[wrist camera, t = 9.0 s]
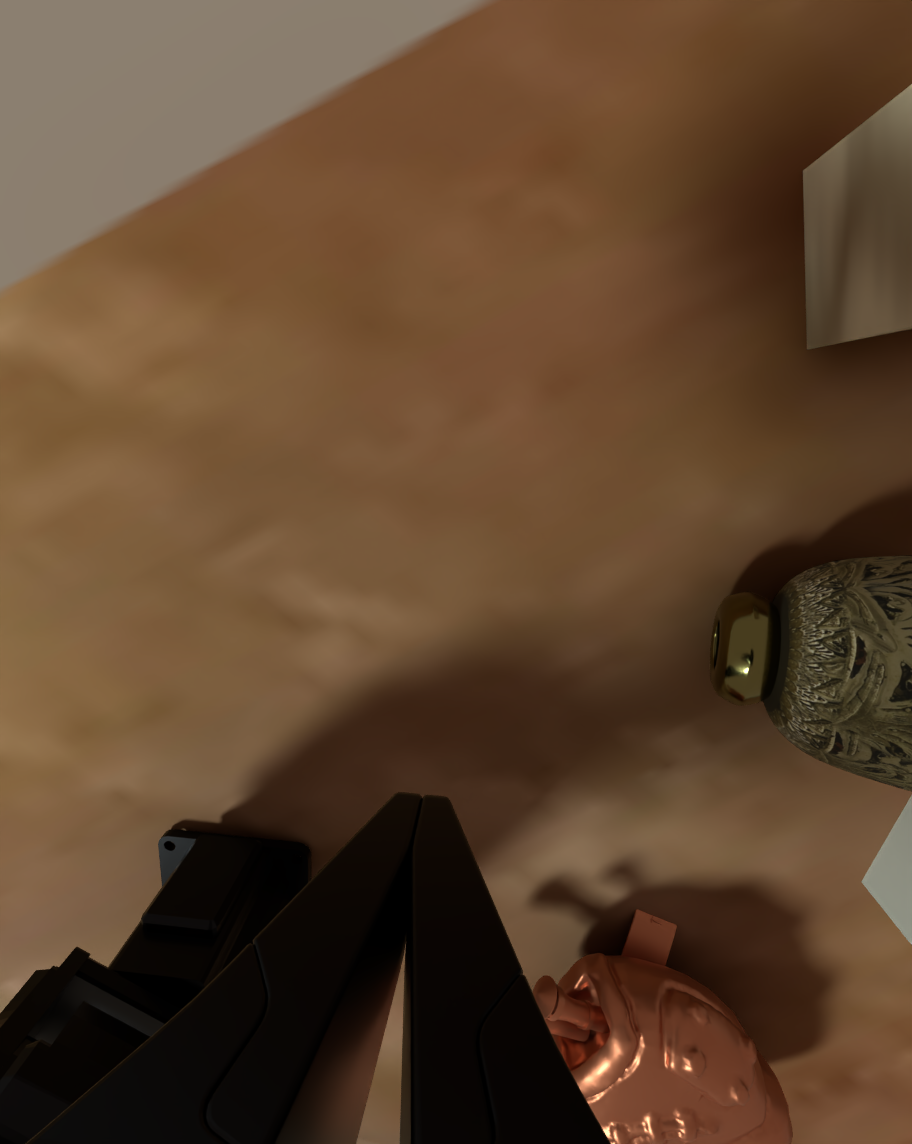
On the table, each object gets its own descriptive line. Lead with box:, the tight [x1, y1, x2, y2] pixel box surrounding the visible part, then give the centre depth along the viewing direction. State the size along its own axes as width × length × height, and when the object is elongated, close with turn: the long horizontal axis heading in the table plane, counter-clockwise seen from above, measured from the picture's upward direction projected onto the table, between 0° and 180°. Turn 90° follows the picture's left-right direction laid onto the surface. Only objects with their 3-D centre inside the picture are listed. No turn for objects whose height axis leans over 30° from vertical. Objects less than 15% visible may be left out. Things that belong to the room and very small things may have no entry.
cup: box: [710, 556, 912, 791], centre depth 17 cm, size 8×7×8 cm
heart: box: [533, 909, 793, 1144], centre depth 23 cm, size 6×12×15 cm
